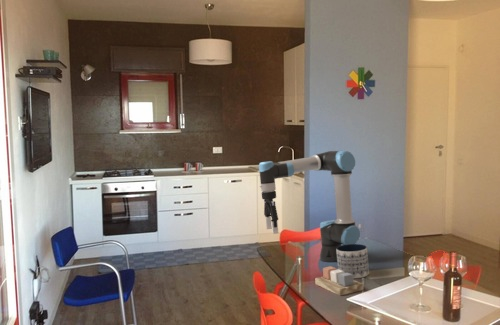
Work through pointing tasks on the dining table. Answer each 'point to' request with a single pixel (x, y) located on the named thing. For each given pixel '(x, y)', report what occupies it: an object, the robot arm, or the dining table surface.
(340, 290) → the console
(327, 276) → the key
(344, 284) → the key
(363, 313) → the dining table surface
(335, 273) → the key mid
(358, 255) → the planter
